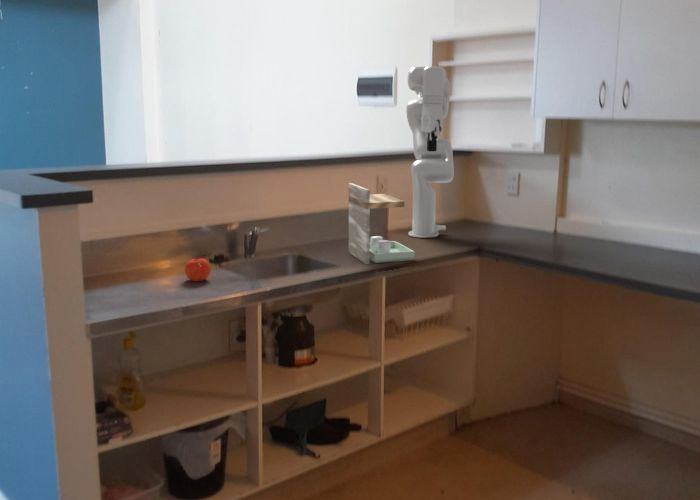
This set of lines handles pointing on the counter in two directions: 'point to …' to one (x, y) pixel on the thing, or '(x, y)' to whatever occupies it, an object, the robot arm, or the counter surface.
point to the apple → (197, 269)
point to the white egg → (383, 246)
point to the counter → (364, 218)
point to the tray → (392, 254)
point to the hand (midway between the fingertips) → (431, 151)
